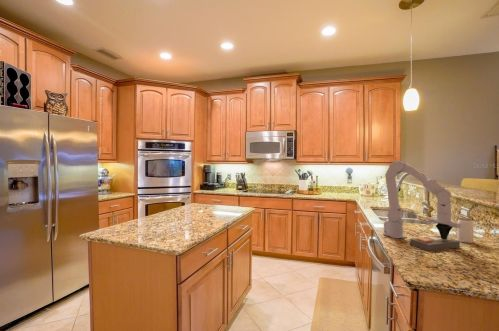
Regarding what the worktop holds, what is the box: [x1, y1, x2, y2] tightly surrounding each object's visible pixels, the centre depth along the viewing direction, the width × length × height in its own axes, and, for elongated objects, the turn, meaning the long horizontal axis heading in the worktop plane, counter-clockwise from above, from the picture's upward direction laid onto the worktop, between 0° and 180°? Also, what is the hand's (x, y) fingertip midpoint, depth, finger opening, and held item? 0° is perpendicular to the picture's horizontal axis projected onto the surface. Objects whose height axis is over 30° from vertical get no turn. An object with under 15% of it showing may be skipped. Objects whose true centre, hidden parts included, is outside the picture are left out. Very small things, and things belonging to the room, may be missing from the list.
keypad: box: [409, 235, 461, 252], centre depth 125 cm, size 10×20×3 cm, turn 105°
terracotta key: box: [417, 237, 432, 243], centre depth 123 cm, size 4×4×2 cm
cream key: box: [426, 236, 442, 242], centre depth 125 cm, size 4×4×2 cm
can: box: [456, 217, 474, 244], centre depth 132 cm, size 6×6×12 cm
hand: (444, 238), depth 126 cm, fingers closed, pressing on sage key
